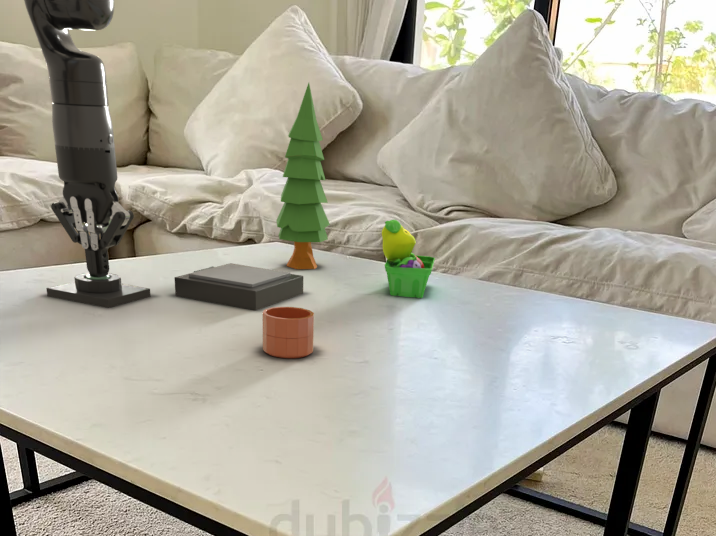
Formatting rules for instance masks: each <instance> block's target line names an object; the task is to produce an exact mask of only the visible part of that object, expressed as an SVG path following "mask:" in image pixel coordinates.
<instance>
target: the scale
mask: <svg viewBox="0 0 716 536" xmlns="http://www.w3.org/2000/svg"><path fill="white" fill-rule="evenodd" d="M173 279H174V292H175V293H174V294H175V297H178V298H185V299H189V300H190V299H191V300H195V301H201V302H207V303H211V304H217V305H222V306H229V307H233V308H234V307H235V308H239V309H246V310H250V311H258V310H262V309H265V308H268V307H270V306H273V305H275V304H279V303H281V302H283V301H287V300H290V299H292V298H295V297H298V296H301V295H303V294H304V275H300V274H294V273H291V272H288V271H283V270H276V269H271V268H270V269H269V268H264V267H257V266H251V265H244V264H239V263H231V262H229V263H226V264H222V265H217V266H209V267H206V268H202V269H201V268H200V269H198V270H194V271H192V272H189V273H186V274H182V275H177V276H174V278H173Z"/></svg>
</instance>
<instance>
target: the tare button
mask: <svg viewBox="0 0 716 536" xmlns="http://www.w3.org/2000/svg"><path fill="white" fill-rule="evenodd" d="M86 279H91V280H105V279H110V276H109V275H107V276H104V277H93V276H90V274H89V275H86Z"/></svg>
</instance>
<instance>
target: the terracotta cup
mask: <svg viewBox="0 0 716 536" xmlns="http://www.w3.org/2000/svg"><path fill="white" fill-rule="evenodd" d="M314 333H315V312H313V311H312V310H310V309H306V308H303V307H296V306H273V307H267V308H266V309H265V308H264V309H263V311H262V351H264V353H266V354H268V355H269V356H272V357H275V358H281V359H299V358H304V357H305V358H306V357H308V356H309V355H311V354H313V353H314V336H315V335H314Z"/></svg>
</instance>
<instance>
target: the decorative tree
mask: <svg viewBox="0 0 716 536" xmlns="http://www.w3.org/2000/svg"><path fill="white" fill-rule="evenodd" d="M287 137H288V138H290V139H289V143H288V146H287V149H286V152H285V154H284V155H285V156H284V158H285V159H287V162H286V165H285V167H284V170H283V174H282V178H287V179H286V181H285V184H284V186H283V189H282V191H281V195H280V203H283V205H282V207H281V209H280V211H279V213H278V215H277V217H276V220H275V221H276V227H277V228H280V229H279V232H278V239H279V240H283V241H289V242H293V247H294V248H293V251H292V255H291V256H290V258H289V259H288V262H287V263H286V267H288V268H291V269H295V270H316V269H317V268H318V265H317V262H316V259H315V257H314V253H313V248H312V247H313V246H312V243H323V242H324V241H328V240H329V238H328V235H327V231H326V228H328V227H329V226H330V221H329V219H328V217H327V214H326V212H325V210H324V208H323V203H324V204H325V203H327V204H328V202H329V201H328V200H327V196H326V193H325V190H324V188H323V185H322V182H321V181H326V177H325V173H324V170H323V169H324V168H323V166H322V161H325V157H324V154H323V150H322V147H321V143H320V142H321V141H323V140H324V139H323V136H322V133H321V129H320V127H319V123H318V121H317V116H316V110H315V106H314V100H313V95H312V90H311V85H310V82H308V83H307V85H306V89H305V91H304V95H303V97H302V101H301V104H300V107H299V110H298V113H297V115H296V118H295V120H294V122H293V125H292V126H291V128H290V130H289V133H288V135H287Z"/></svg>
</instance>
